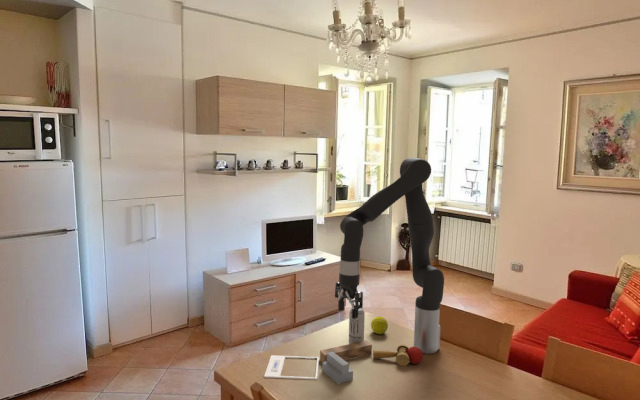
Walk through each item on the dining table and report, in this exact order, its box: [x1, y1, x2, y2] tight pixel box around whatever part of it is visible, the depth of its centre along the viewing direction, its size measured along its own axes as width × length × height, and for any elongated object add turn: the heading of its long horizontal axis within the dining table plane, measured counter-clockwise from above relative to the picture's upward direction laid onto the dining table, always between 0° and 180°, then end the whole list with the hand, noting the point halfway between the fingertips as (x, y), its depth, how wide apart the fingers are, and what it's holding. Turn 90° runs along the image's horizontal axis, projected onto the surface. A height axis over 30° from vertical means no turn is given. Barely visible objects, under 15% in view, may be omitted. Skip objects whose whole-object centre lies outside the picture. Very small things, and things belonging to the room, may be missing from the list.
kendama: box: [372, 344, 424, 367], centre depth 157 cm, size 8×6×18 cm
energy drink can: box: [348, 307, 366, 344], centre depth 169 cm, size 6×6×15 cm
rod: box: [319, 340, 373, 363], centre depth 160 cm, size 20×4×4 cm, turn 116°
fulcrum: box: [321, 352, 354, 385], centre depth 147 cm, size 6×10×6 cm, turn 31°
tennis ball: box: [370, 316, 389, 335], centre depth 180 cm, size 7×7×7 cm
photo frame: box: [263, 354, 320, 381], centre depth 152 cm, size 15×1×18 cm
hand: (347, 314), depth 158 cm, fingers open, 8 cm apart
